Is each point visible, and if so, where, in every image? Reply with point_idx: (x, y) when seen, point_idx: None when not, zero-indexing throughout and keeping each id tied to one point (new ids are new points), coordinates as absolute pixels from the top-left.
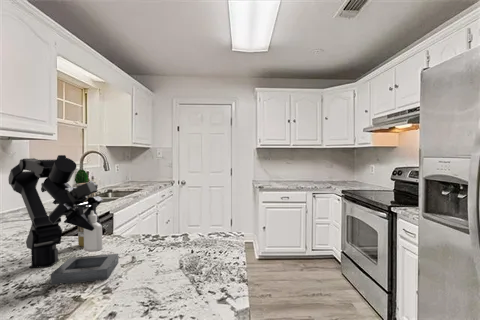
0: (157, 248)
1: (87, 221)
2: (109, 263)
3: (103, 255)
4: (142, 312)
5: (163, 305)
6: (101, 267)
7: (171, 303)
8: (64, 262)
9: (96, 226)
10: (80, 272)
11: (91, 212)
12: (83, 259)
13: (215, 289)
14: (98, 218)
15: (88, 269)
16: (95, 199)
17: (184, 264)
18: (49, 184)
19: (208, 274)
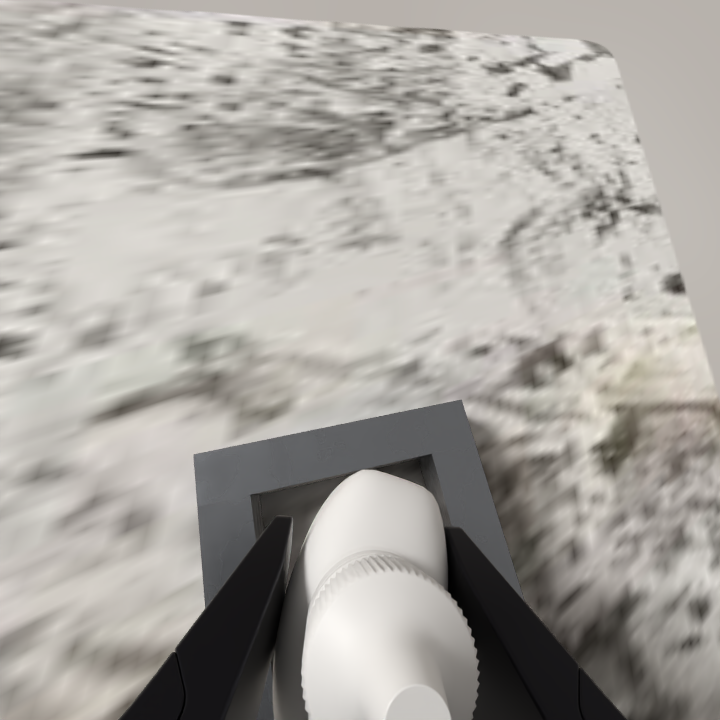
0: None
1: (542, 631)
2: (381, 424)
3: (217, 543)
4: (649, 216)
5: (605, 179)
6: (443, 439)
7: (591, 164)
8: None
9: (433, 504)
10: (500, 531)
11: (444, 706)
12: (271, 668)
13: (499, 83)
14: (223, 600)
15: (474, 499)
16: None
17: (287, 166)
18: None
19: (394, 97)
